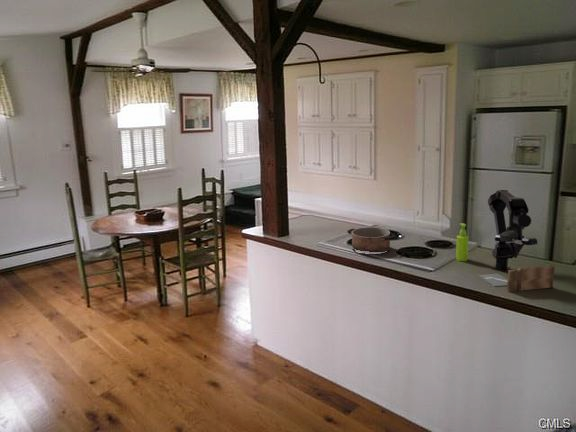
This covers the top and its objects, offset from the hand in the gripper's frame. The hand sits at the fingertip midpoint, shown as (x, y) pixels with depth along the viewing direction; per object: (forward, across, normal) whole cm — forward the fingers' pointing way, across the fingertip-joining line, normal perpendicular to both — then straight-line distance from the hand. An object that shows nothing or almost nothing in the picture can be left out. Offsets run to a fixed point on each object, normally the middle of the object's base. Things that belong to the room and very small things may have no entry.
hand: (515, 257), depth 215 cm
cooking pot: (+4, -78, -26) cm, 82 cm away
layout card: (+11, -6, -6) cm, 14 cm away
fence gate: (+13, +11, +1) cm, 17 cm away
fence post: (+13, +7, -9) cm, 18 cm away
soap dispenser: (+7, -36, +4) cm, 37 cm away
